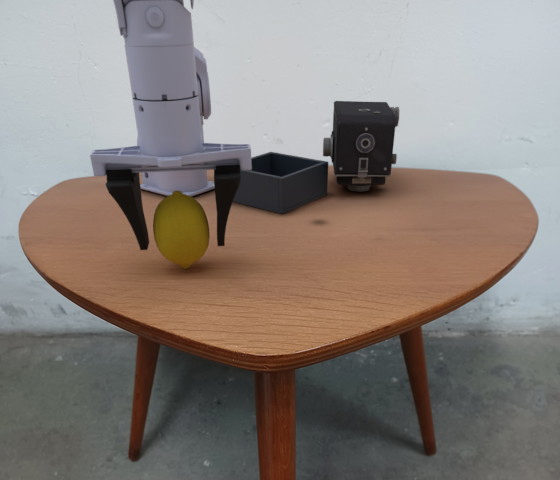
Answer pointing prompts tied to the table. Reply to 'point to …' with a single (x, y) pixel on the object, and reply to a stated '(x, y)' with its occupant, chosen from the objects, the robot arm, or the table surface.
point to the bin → (282, 182)
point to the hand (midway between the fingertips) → (183, 244)
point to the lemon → (181, 229)
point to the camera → (362, 143)
